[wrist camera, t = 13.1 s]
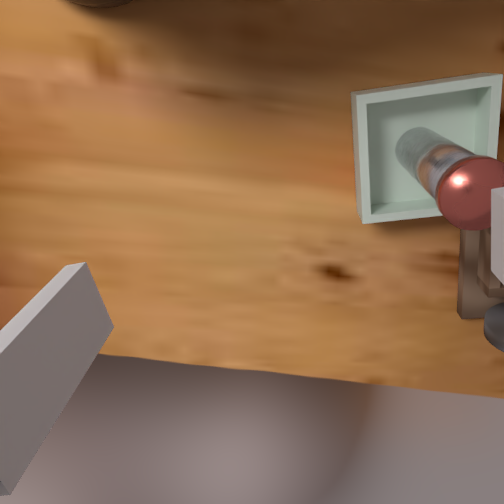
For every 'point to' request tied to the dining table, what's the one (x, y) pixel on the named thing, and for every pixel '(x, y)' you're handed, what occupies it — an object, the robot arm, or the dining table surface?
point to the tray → (410, 116)
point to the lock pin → (451, 176)
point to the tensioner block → (480, 285)
